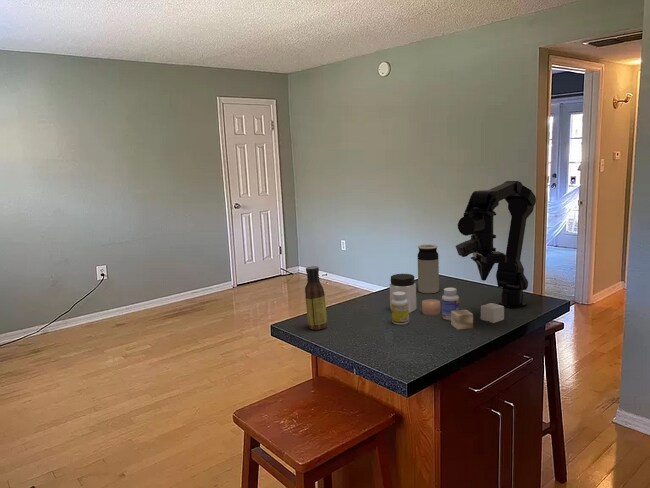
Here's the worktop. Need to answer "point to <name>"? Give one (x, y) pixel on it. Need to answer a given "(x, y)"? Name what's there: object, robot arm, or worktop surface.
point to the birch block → (462, 319)
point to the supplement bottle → (400, 308)
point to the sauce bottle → (315, 300)
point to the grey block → (492, 312)
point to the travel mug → (428, 269)
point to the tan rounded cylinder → (431, 307)
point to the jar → (404, 289)
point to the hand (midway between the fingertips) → (483, 280)
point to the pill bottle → (449, 302)
